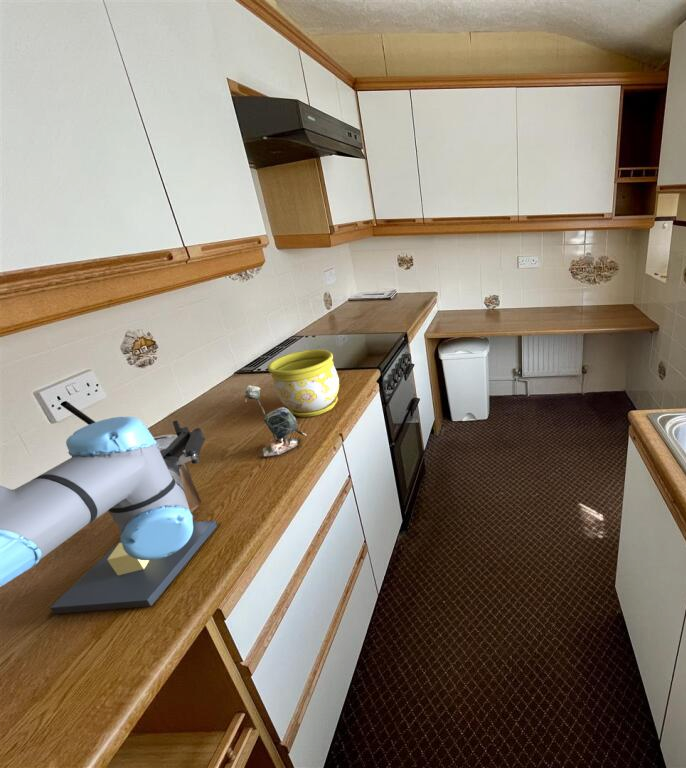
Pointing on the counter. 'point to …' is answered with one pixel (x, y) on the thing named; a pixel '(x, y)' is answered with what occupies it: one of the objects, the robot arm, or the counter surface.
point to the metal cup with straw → (162, 443)
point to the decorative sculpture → (276, 426)
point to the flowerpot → (306, 382)
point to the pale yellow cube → (125, 561)
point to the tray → (130, 579)
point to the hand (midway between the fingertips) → (144, 437)
